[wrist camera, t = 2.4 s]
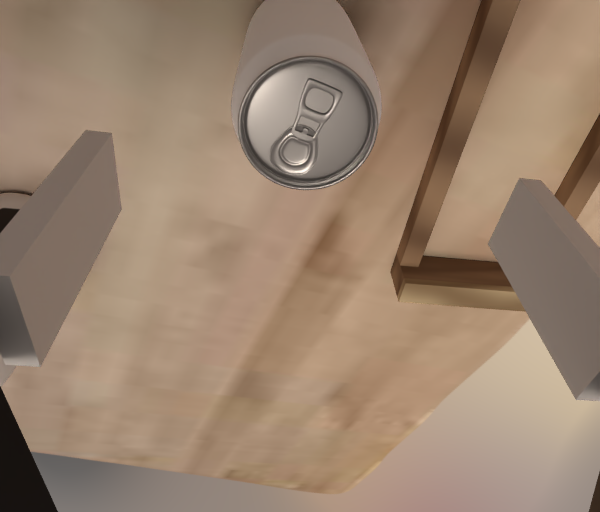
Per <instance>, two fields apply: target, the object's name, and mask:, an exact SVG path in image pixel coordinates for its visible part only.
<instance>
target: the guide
mask: <svg viewBox="0 0 600 512" xmlns="http://www.w3.org/2000/svg"><path fill="white" fill-rule="evenodd" d="M519 3H520V0H482V1H481V4H480V7H479V10H478V13H477V16H476V19H475V22H474V25H473V28H472V31H471V34H470V37H469V40H468V43H467V46H466V49H465V52H464V55H463V58H462V61H461V64H460V67H459V70H458V73H457V76H456V79H455V82H454V84H453V87H452V90H451V93H450V96H449V99H448V102H447V105H446V108H445V111H444V114H443V117H442V120H441V123H440V126H439V129H438V132H437V135H436V138H435V141H434V144H433V147H432V150H431V153H430V156H429V159H428V162H427V165H426V168H425V171H424V174H423V177H422V180H421V183H420V186H419V189H418V192H417V195H416V198H415V201H414V204H413V207H412V209H411V212H410V215H409V218H408V221H407V224H406V227H405V230H404V233H403V236H402V239H401V242H400V245H399V248H398V251H397V254H396V257H395V260H394V263H393V266H392V269H391V276H392V279H393V283H394V287H395V290H396V294H397V298H398V301H399V302H407V303H420V304H433V305H447V306H460V307H473V308H486V309H500V310H513V311H525V309H524V307H523V305H522V303H521V302H520V300H519V298H518V296H517V295H516V293H515V291H514V289H513V288H512V286H511V284H510V282H509V280H508V279H507V277H506V275H505V273H504V272H503V270H502V268H501V266H500V265H499V263H498V262H487V261H475V260H463V259H452V258H440V257H429V256H423V253H424V251H425V248H426V246H427V243H428V240H429V238H430V235H431V233H432V230H433V227H434V225H435V222H436V220H437V217H438V214H439V212H440V209H441V206H442V204H443V201H444V199H445V196H446V193H447V191H448V188H449V186H450V183H451V180H452V178H453V175H454V172H455V170H456V167H457V165H458V162H459V159H460V157H461V154H462V152H463V149H464V146H465V144H466V141H467V138H468V136H469V133H470V131H471V128H472V125H473V123H474V120H475V118H476V115H477V112H478V110H479V107H480V104H481V102H482V99H483V97H484V94H485V91H486V89H487V86H488V84H489V81H490V78H491V76H492V73H493V71H494V68H495V65H496V63H497V60H498V57H499V55H500V52H501V50H502V47H503V44H504V42H505V39H506V37H507V34H508V31H509V29H510V26H511V23H512V21H513V18H514V16H515V13H516V10H517V8H518V5H519ZM599 182H600V115H599V117H598V119H597V120H596V122H595V124H594V126H593V128H592V129H591V131H590V133H589V135H588V137H587V138H586V140H585V142H584V144H583V146H582V148H581V149H580V151H579V153H578V155H577V157H576V158H575V160H574V162H573V164H572V166H571V167H570V169H569V171H568V173H567V175H566V176H565V178H564V180H563V182H562V184H561V185H560V187H559V189H558V191H557V193H556V194H555V197H556V198H557V199H558V201H559V202H560V203H561V204H562V205H563V206H564V207H565V209H566V210H567V211H568V212H569V213H570V214H571V215H572V217H573V218H574V219H575V220H576V219H577V218H578V216H579V214H580V213H581V211H582V210H583V208H584V206H585V205H586V203H587V201H588V200H589V198H590V196H591V195H592V193H593V192H594V190H595V188H596V187H597V185H598V183H599Z"/></svg>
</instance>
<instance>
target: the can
mask: <svg viewBox="0 0 600 512" xmlns="http://www.w3.org/2000/svg"><path fill="white" fill-rule="evenodd" d="M381 110H382V102H381V93H380V87H379V84H378V80H377V78H376V75H375V72H374V70H373V68H372V65H371V63H370V61H369V59H368V57H367V54H366V52H365V50H364V48H363V46H362V44H361V42H360V39H359V37H358V35H357V33H356V31H355V29H354V27H353V25H352V23H351V21H350V19H349V17H348V15H347V14H346V12H345V11H344V9H343V8H342V6H341V5H340V4H339V3H338V2H337V1H336V0H265V1H264V2H263V3H262V4H261V5H260V6H259V7H258V9H257V10H256V12H255V13H254V15H253V17H252V19H251V21H250V23H249V26H248V29H247V33H246V36H245V40H244V44H243V48H242V52H241V56H240V60H239V65H238V69H237V73H236V77H235V82H234V87H233V92H232V100H231V113H232V121H233V126H234V129H235V132H236V135H237V137H238V140H239V142H240V143H241V146H242V149H243V151H244V153H245V155H246V157H247V158H248V160H249V161H250V163H251V164H252V165H253V166H254V168H255V169H256V170H257V171H258V172H259V173H261V174H262V175H263V176H264V177H266V178H267V179H269V180H271V181H272V182H274V183H276V184H279V185H281V186H284V187H287V188H292V189H298V190H315V189H321V188H326V187H329V186H332V185H334V184H337V183H339V182H341V181H343V180H344V179H346V178H348V177H349V176H350V175H352V174H353V173H354V172H355V171H356V170H357V169H358V168H359V167H360V166H361V165H362V164H363V163H364V162H365V160H366V159H367V157H368V156H369V154H370V152H371V150H372V148H373V146H374V143H375V140H376V136H377V131H378V127H379V123H380V118H381Z"/></svg>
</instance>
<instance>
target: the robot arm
mask: <svg viewBox="0 0 600 512" xmlns="http://www.w3.org/2000/svg"><path fill="white" fill-rule="evenodd" d="M120 211H121V201H120V193H119V185H118V178H117V170H116V162H115V154H114V146H113V138H112V133H106V132H97V131H88V130H86V131H85V132H84V133H83V134H82V135H81V137H80V138H79V139H78V140H77V141H76V143H75V144H74V145H73V146H72V147H71V149H70V150H69V151H68V152H67V153H66V155H65V156H64V157H63V158H62V159H61V161H60V162H59V163H58V164H57V165H56V167H55V168H54V169H53V170H52V172H51V173H50V174H49V175H48V176H47V178H46V179H45V180H44V181H43V182H42V184H41V185H40V186H39V187H38V188H37V190H36V191H35V192H34V193H33V194H32V196H31V197H30V198H29V199H28V200H27V202H26V203H25V204H24V205H23V206H22V208H21V209H12V208H2V209H0V353H1V356H2V358H3V361H4V363H5V365H18V366H34V367H41V365H42V363H43V361H44V359H45V357H46V355H47V353H48V351H49V349H50V347H51V346H52V344H53V342H54V340H55V338H56V336H57V334H58V332H59V330H60V328H61V326H62V324H63V322H64V320H65V318H66V316H67V314H68V312H69V310H70V309H71V307H72V305H73V303H74V301H75V299H76V297H77V295H78V293H79V291H80V289H81V287H82V285H83V283H84V281H85V279H86V277H87V275H88V274H89V272H90V270H91V268H92V266H93V264H94V262H95V260H96V258H97V256H98V254H99V252H100V250H101V248H102V246H103V244H104V242H105V240H106V239H107V237H108V235H109V233H110V231H111V229H112V227H113V225H114V223H115V221H116V219H117V217H118V215H119V213H120ZM488 245H489V247H490V249H491V250H492V252H493V254H494V256H495V257H496V259H497V261H498V263H499V265H500V266H501V268H502V270H503V272H504V273H505V275H506V277H507V279H508V280H509V282H510V284H511V286H512V288H513V289H514V291H515V293H516V295H517V296H518V298H519V300H520V302H521V303H522V305H523V307H524V309H525V311H526V312H527V314H528V316H529V318H530V319H531V321H532V323H533V325H534V326H535V328H536V330H537V332H538V333H539V335H540V337H541V339H542V341H543V342H544V344H545V346H546V348H547V349H548V351H549V353H550V355H551V356H552V358H553V360H554V362H555V364H556V365H557V367H558V369H559V371H560V373H561V374H562V376H563V378H564V380H565V381H566V383H567V385H568V387H569V388H570V390H571V392H572V394H573V395H574V397H575V399H576V400H590V401H600V248H599V247H598V245H597V244H596V243H595V242H594V241H593V240H592V238H591V237H590V236H589V235H588V234H587V233H586V232H585V230H584V229H583V228H582V227H581V226H580V225H579V224H578V222H577V221H576V220H575V219H574V218H573V217H572V215H571V214H570V213H569V212H568V211H567V210H566V209H565V207H564V206H563V205H562V204H561V203H560V202H559V201H558V199H557V198H556V197H555V196H554V195H553V194H552V192H551V191H550V190H549V189H548V188H547V187H546V186H545V184H544V183H543V182H542V181H541V180H533V179H524V178H519V180H518V182H517V184H516V186H515V188H514V190H513V192H512V194H511V197H510V199H509V201H508V203H507V205H506V207H505V209H504V211H503V213H502V215H501V217H500V220H499V222H498V224H497V226H496V228H495V230H494V232H493V234H492V236H491V238H490V241H489V243H488ZM0 512H58V511H57V509H56V507H55V505H54V502H53V500H52V498H51V496H50V494H49V491H48V489H47V487H46V485H45V483H44V481H43V478H42V476H41V475H40V472H39V470H38V468H37V465H36V463H35V461H34V459H33V457H32V454H31V452H30V450H29V448H28V446H27V443H26V441H25V439H24V437H23V435H22V433H21V430H20V428H19V426H18V424H17V422H16V419H15V417H14V415H13V413H12V411H11V409H10V406H9V404H8V402H7V400H6V398H5V395H4V393H3V391H2V389H1V387H0ZM589 512H600V472H599V476H598V480H597V484H596V487H595V491H594V494H593V498H592V502H591V506H590V509H589Z"/></svg>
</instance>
